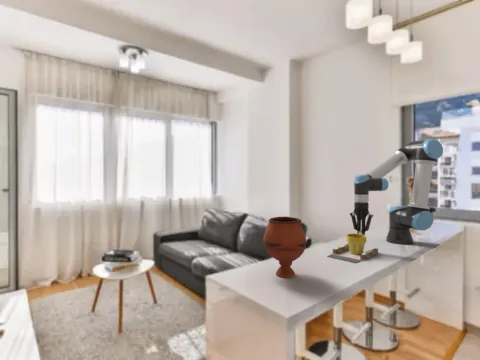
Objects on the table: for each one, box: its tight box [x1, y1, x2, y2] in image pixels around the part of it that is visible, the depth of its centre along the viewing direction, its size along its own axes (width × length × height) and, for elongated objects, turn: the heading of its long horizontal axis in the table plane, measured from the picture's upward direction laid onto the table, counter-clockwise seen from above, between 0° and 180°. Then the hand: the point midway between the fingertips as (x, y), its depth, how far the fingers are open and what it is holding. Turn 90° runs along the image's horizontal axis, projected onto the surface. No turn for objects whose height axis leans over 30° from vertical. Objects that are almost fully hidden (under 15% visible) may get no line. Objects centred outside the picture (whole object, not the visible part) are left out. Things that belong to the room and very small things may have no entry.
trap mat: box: [326, 253, 362, 264], centre depth 153 cm, size 6×16×1 cm, turn 43°
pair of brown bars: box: [332, 243, 379, 261], centre depth 162 cm, size 19×17×3 cm
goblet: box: [262, 216, 307, 279], centre depth 130 cm, size 19×19×25 cm
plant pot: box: [345, 232, 367, 255], centre depth 163 cm, size 10×10×10 cm
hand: (361, 242), depth 167 cm, fingers closed
